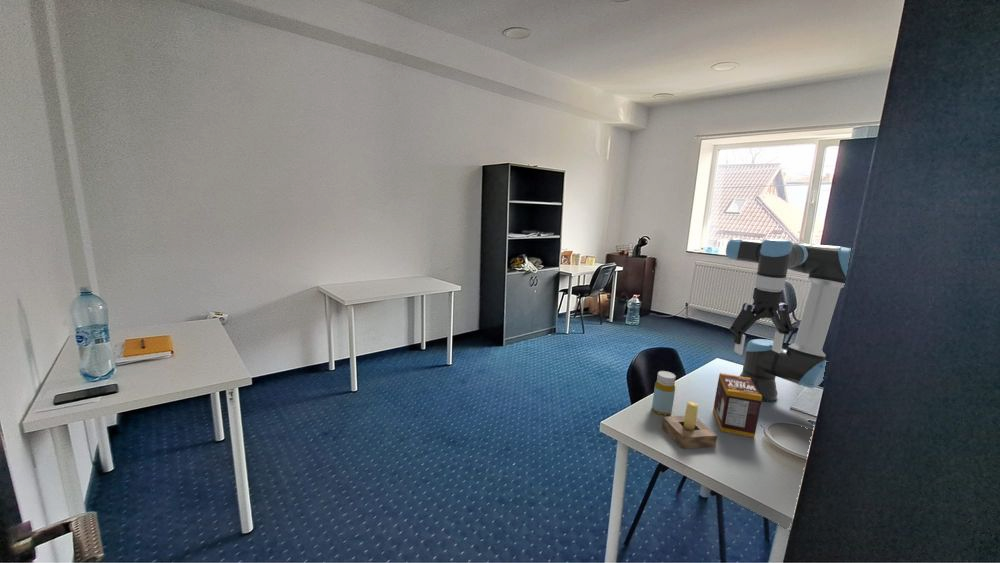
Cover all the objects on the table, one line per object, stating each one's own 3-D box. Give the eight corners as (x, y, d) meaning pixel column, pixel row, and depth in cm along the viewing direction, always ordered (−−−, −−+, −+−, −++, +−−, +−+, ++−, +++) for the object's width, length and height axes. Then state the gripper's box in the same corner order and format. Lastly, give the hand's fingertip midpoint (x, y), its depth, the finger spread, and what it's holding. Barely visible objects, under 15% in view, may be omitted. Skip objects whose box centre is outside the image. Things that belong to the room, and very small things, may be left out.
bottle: (673, 417, 143) (678, 380, 140) (653, 414, 144) (658, 377, 141) (669, 407, 149) (674, 371, 146) (650, 404, 151) (655, 369, 148)
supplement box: (743, 415, 146) (750, 377, 143) (754, 438, 132) (763, 396, 128) (712, 409, 149) (719, 372, 146) (720, 431, 135) (728, 390, 132)
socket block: (692, 425, 138) (694, 415, 137) (715, 446, 126) (717, 435, 126) (661, 427, 136) (662, 416, 135) (682, 448, 125) (683, 437, 124)
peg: (689, 433, 133) (694, 401, 131) (695, 439, 130) (700, 406, 127) (680, 433, 133) (684, 402, 130) (686, 439, 129) (691, 407, 127)
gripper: (794, 285, 125) (782, 346, 130) (723, 286, 122) (714, 349, 127) (815, 291, 118) (801, 355, 123) (740, 292, 115) (730, 358, 120)
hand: (757, 352), depth 125 cm, fingers open, 13 cm apart
